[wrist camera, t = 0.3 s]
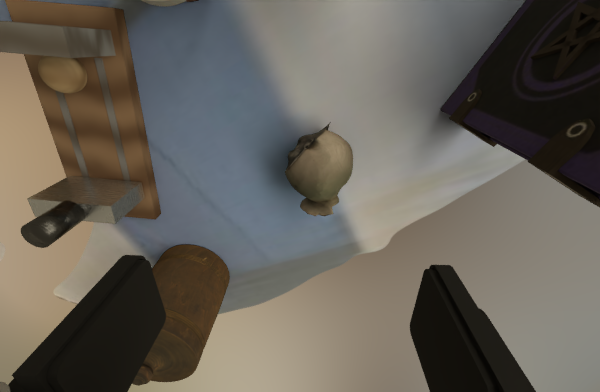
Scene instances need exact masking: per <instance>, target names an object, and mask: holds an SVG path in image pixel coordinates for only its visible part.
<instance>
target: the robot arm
mask: <svg viewBox="0 0 600 392" xmlns="http://www.w3.org/2000/svg"><path fill="white" fill-rule="evenodd" d="M165 320H166V312H165V309H164V306H163V303H162V299H161V296H160V293H159V290H158V287H157V284H156V281H155V278H154V275H153V271H152V268H151V265H150V263H149V261H148V260H146V259H145V257H143V256H135V255H125V256H122V257H121V258H120V259H119V260H118V261H117V262H116V263H115V265H114V266H113V267H112V268H111V269H110V270H109V271H108V272H107V273H106V274H105V275H104V276H103V277H102V279H101V280H100V281H99V282H98V283H97V284H96V285H95V286H94V287H93V288H92V289H91V290H90V291H89V293H88V294H87V295H86V296H85V297H84V298H83V299H82V300H81V301H80V302H79V303H78V304H77V306H76V307H75V308H74V309H73V310H72V311H71V312H70V313H69V314H68V315H67V316H66V317H65V318H64V320H63V321H62V322H61V323H60V324H59V325H58V326H57V327H56V328H55V329H54V330H53V331H52V332H51V334H50V335H49V336H48V337H47V338H46V339H45V340H44V341H43V342H42V343H41V344H40V345H39V346H38V348H37V349H36V350H35V351H34V352H33V353H32V354H31V355H30V356H29V357H28V358H27V360H26V361H25V362H24V363H23V364H22V365H21V366H20V367H19V368H18V369H17V370H16V371H15V372H14V373H13V375H12V376H13V377H14V379H13V380H12V381H11V382H10V383H9V385H7V384H6V383H4V382H0V392H127V391H128V390H129V388H130V386H131V384H132V382H133V380H134V379H135V377H136V375H137V373H138V371H139V369H140V368H141V366H142V364H143V362H144V360H145V358H146V357H147V355H148V353H149V351H150V349H151V348H152V346H153V344H154V342H155V340H156V338H157V337H158V335H159V333H160V331H161V329H162V327H163V326H164V323H165ZM410 332H411V336H412V339H413V342H414V345H415V348H416V351H417V354H418V357H419V360H420V363H421V366H422V369H423V372H424V374H425V378H426V381H427V384H428V387H429V390H430V392H536V391H535V390H534V388H533V386H532V385H531V383H530V382H529V380H528V379H527V377H526V376H525V374H524V373H523V371H522V370H521V368H520V367H519V365H518V363H517V362H516V360H515V358H514V357H513V355H512V354H511V352H510V351H509V349H508V348H507V346H506V345H505V343H504V341H503V340H502V338H501V337H500V335H499V333H498V332H497V330H496V329H495V327H494V326H493V324H492V323H491V321H490V319H489V318H488V317H487V315H486V314H485V313H484V311H482V310H481V309H479V308H478V307H477V305H476V304H475V302H474V301H473V299H472V297H471V296H470V294H469V293H468V291H467V289H466V288H465V286H464V285H463V283H462V281H461V280H460V278H459V277H458V275H457V273H456V272H455V271H454V269H453V267H451V266H450V265H431V266H430V268H429V269H425V271H424V273H423V277H422V281H421V285H420V288H419V292H418V296H417V300H416V304H415V307H414V311H413V314H412V318H411V322H410Z"/></svg>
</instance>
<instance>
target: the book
mask: <svg viewBox="0 0 600 392" xmlns="http://www.w3.org/2000/svg"><path fill="white" fill-rule="evenodd" d="M441 111H443V112H445V113H447V114H449V115H450V118H449V119H451V120H452V121H454V122H456V123H457V124H459V125H460V126H462V127H463V128H465V129H466V130H468V131H469V132H471V133H472V134H474V135H475V136H477V137H478V138H480V139H482V140H483V141H485V142H486V143H488V144H490V145H492V146H493V147H494V146H495V145H496V144H499V145H501V146H502V147H504V148H506V149H508V150H510V151H512V152H513V153H515V154H517V155H519V156H521V157H523V158H525V159H526V160H528V162H529V163H531V164H532V165H534V166H535V167H537V168H538V169H540V170H541V171H543V172H544V173H546V174H547V175H549V176H550V177H552V178H553V179H555V180H556V181H558V182H559V183H561V184H562V185H564V186H565V187H567V188H569V189H570V190H572V191H573V192H575V193H576V194H578V195H579V196H581V197H583V198H584V199H586V200H588V201H590V202H591V203H593V204H595V205H597V206H599V207H600V0H526V1H525V3H524V4H523V5H522V6H521V8H520V9H519V10H518V12H517V13H516V14H515V15H514V17H513V18H512V19H511V20H510V22H509V23H508V24H507V26H506V27H505V28H504V29H503V31H502V32H501V33H500V34H499V36H498V37H497V38H496V39H495V41H494V42H493V43H492V45H491V46H490V47H489V48H488V50H487V51H486V52H485V53H484V55H483V56H482V57H481V59H480V60H479V61H478V62H477V64H476V65H475V66H474V67H473V69H472V70H471V71H470V72H469V74H468V75H467V76H466V78H465V79H464V80H463V81H462V83H461V84H460V85H459V86H458V88H457V89H456V90H455V91H454V93H453V94H452V95H451V97H450V98H449V99H448V100H447V102H446V103H445V104H444V105H443V107H442V108H441Z"/></svg>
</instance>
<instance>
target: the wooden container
mask: <svg viewBox="0 0 600 392" xmlns="http://www.w3.org/2000/svg"><path fill="white" fill-rule="evenodd" d="M152 271H153V275H154V278H155V281H156V284H157V287H158V290H159V293H160V296H161V299H162V303H163V306H164V309H165V312H166V320H165V323H164V326H163V327H162V329H161V331H160V333H159V335H158V337H157V338H156V340H155V342H154V344H153V346H152V348H151V349H150V351H149V353H148V355H147V357H146V358H145V360H144V362H143V364H142V366H141V368H140V369H139V371H138V373H137V375H136V377H135V379H134V380H133V382H132V384H135V385H142V384H146V383H148V382H149V381H150V380H151V381H157V382H172V381H178V380H182V379H185V378H187V377H189V376H190V375H192V374H193V373H194V371H195V370H196V368H197V366H198V363H199V361H200V358H201V355H202V352H203V349H204V347H205V345H206V342H207V340H208V337H209V335H210V332H211V329H212V327H213V324H214V322H215V320H216V317H217V314H218V312H219V309H220V306H221V304H222V301H223V298H224V295H225V292H226V289H227V286H228V283H229V278H230V276H229V271H228V268H227V266H226V264H225V263H224V262H223V260H222V259H221V258H220V257H219V256H218V255H216V254H215V253H213V252H212V251H210V250H208V249H206V248H203V247H200V246H195V245H178V246H174V247H172V248H170V249H168V250H167V251H166V252H164V254H163V255H162V256H161V257H160V259H159V260H158V262H157V263H156V264H155V266H154V267H153V268H152Z"/></svg>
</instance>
